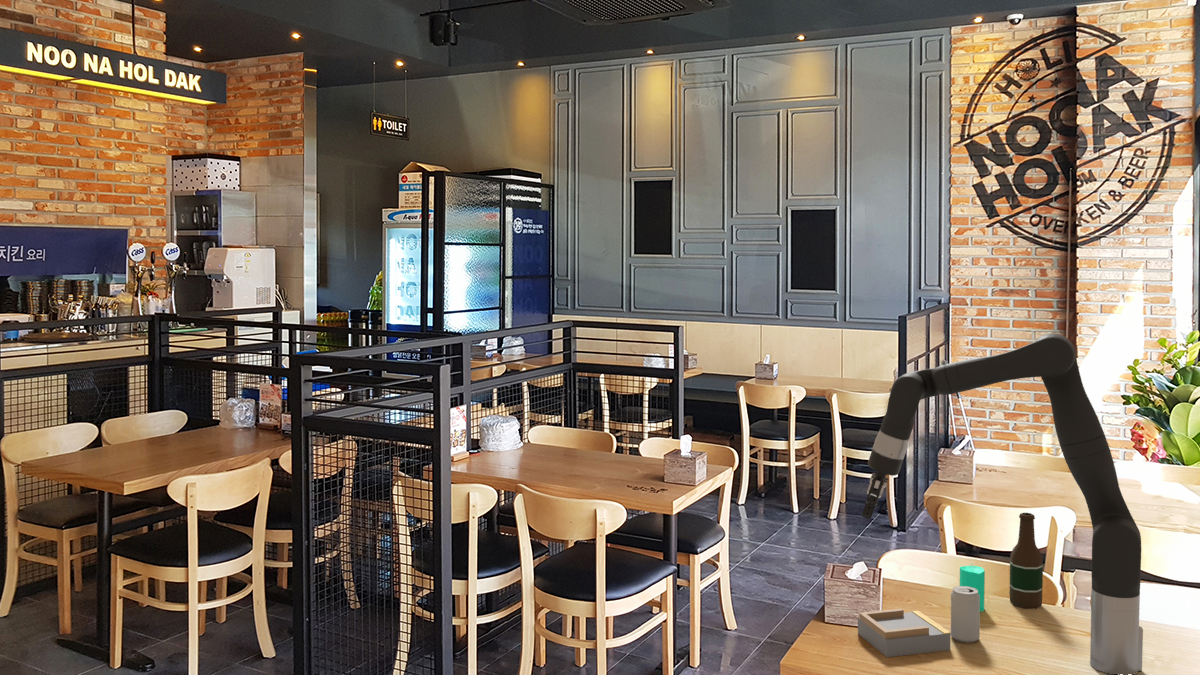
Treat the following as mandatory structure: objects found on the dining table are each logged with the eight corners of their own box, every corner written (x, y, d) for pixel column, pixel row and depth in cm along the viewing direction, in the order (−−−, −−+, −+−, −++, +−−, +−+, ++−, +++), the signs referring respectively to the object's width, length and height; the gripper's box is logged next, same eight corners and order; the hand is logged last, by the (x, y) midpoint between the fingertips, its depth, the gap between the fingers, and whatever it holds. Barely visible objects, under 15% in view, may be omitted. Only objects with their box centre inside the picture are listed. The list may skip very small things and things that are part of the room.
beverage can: (981, 644, 217) (982, 594, 216) (953, 643, 218) (953, 593, 217) (976, 634, 223) (977, 585, 222) (948, 632, 225) (948, 584, 224)
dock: (917, 627, 228) (918, 605, 228) (950, 650, 215) (950, 626, 214) (857, 633, 225) (857, 611, 225) (886, 657, 211) (887, 633, 211)
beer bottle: (1008, 606, 240) (1009, 516, 239) (1010, 597, 247) (1011, 508, 245) (1041, 611, 237) (1042, 519, 235) (1042, 601, 244) (1044, 511, 242)
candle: (960, 611, 238) (960, 565, 237) (958, 603, 244) (958, 558, 243) (985, 613, 236) (986, 567, 235) (983, 605, 242) (983, 560, 241)
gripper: (901, 464, 216) (880, 527, 219) (906, 450, 229) (886, 510, 233) (869, 453, 218) (849, 515, 222) (876, 440, 232) (856, 499, 235)
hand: (868, 512), depth 227 cm, fingers open, 8 cm apart
